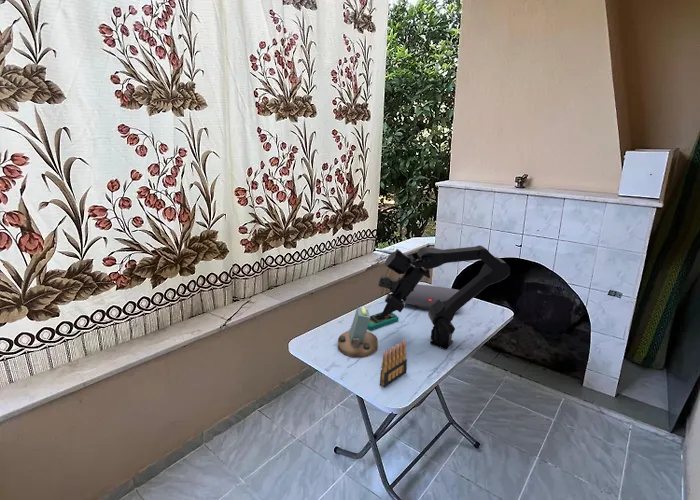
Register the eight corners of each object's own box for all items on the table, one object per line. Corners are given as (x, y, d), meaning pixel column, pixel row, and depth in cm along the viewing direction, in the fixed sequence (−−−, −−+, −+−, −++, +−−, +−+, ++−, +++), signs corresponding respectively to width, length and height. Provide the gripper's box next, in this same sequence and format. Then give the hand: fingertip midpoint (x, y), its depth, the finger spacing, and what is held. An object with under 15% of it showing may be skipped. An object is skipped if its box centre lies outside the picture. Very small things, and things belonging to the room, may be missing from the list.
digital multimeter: (399, 322, 152) (400, 315, 151) (370, 332, 144) (370, 325, 143) (388, 315, 157) (388, 308, 156) (359, 324, 149) (359, 318, 148)
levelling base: (374, 335, 141) (375, 322, 139) (380, 356, 128) (380, 342, 126) (337, 336, 140) (337, 323, 138) (339, 358, 127) (339, 344, 125)
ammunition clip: (402, 370, 121) (403, 337, 117) (406, 373, 119) (408, 339, 116) (379, 385, 114) (380, 350, 110) (384, 388, 112) (385, 353, 109)
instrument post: (360, 334, 136) (369, 306, 133) (362, 343, 130) (371, 314, 127) (349, 332, 135) (358, 304, 132) (351, 341, 130) (359, 312, 126)
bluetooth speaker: (402, 309, 162) (403, 287, 159) (405, 300, 170) (407, 279, 167) (457, 316, 155) (459, 294, 152) (458, 306, 164) (460, 285, 161)
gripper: (392, 262, 137) (367, 295, 141) (386, 271, 119) (358, 309, 123) (417, 280, 136) (391, 313, 140) (415, 292, 118) (386, 330, 122)
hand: (382, 315), depth 131 cm, fingers closed
